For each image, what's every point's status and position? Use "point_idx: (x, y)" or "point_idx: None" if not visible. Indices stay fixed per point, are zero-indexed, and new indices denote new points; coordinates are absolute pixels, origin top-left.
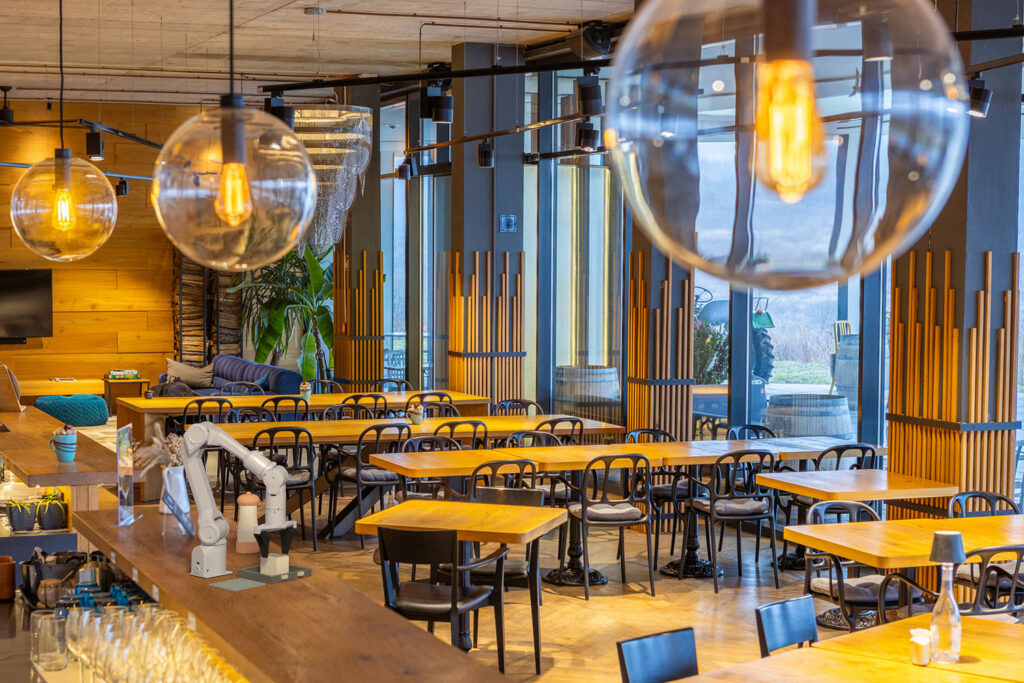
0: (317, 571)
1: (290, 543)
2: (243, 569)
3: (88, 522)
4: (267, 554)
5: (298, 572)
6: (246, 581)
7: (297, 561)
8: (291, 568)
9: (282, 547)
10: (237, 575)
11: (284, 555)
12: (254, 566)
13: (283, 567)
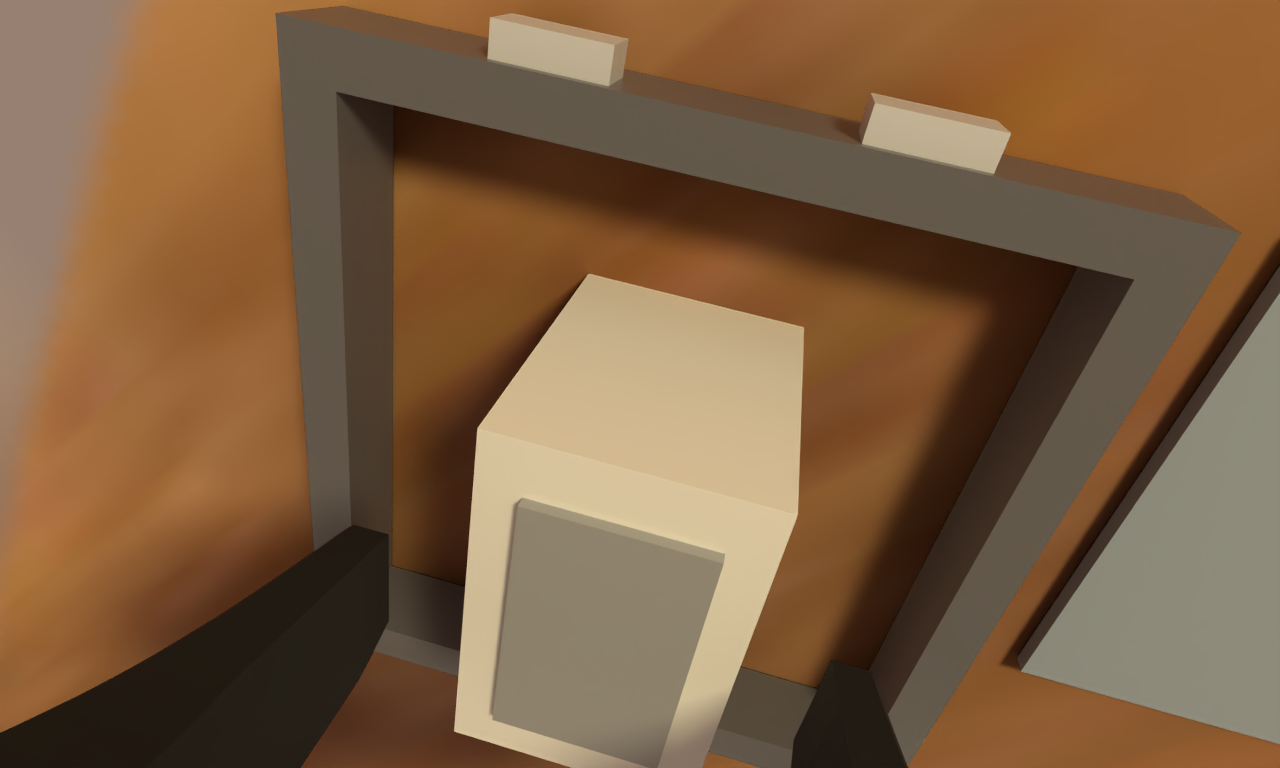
0: (114, 121)
1: (187, 651)
2: None
3: None
4: (864, 716)
5: (611, 54)
6: (1220, 540)
7: (34, 566)
8: (367, 394)
9: (328, 702)
10: None
11: (519, 505)
12: None
13: (655, 362)
